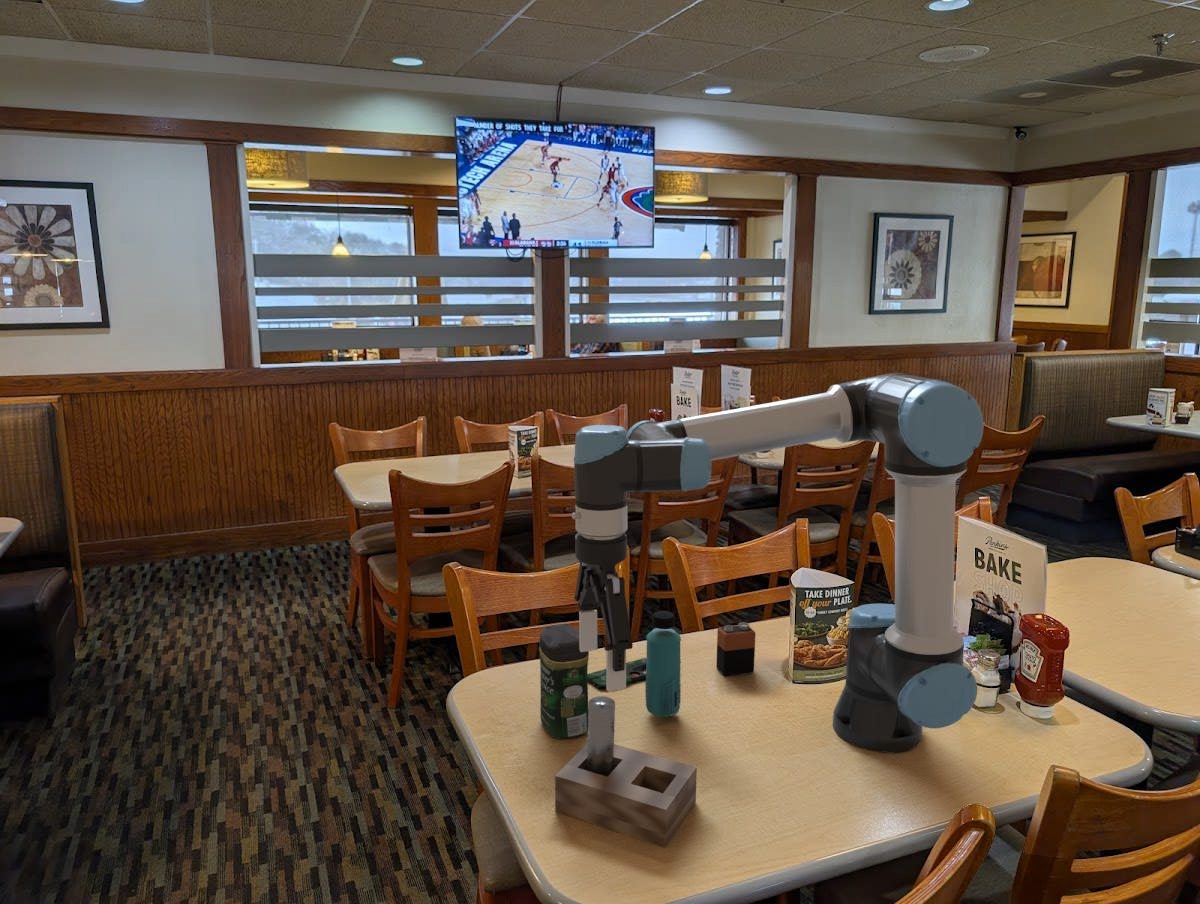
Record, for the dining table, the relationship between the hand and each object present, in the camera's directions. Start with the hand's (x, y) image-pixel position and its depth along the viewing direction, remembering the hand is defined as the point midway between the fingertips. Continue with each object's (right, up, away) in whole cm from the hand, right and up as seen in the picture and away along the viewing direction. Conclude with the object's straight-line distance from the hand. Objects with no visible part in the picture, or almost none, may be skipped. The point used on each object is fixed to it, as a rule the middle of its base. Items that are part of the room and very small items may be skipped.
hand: (601, 668), depth 126 cm
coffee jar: (-7, -17, +25) cm, 31 cm away
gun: (+6, -14, +44) cm, 47 cm away
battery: (+28, -13, +48) cm, 56 cm away
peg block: (+4, -22, +2) cm, 22 cm away
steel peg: (0, -19, +4) cm, 19 cm away
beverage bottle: (+11, -16, +29) cm, 35 cm away
